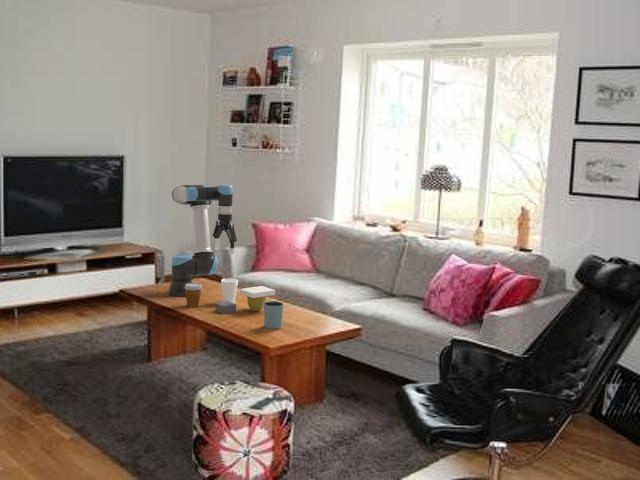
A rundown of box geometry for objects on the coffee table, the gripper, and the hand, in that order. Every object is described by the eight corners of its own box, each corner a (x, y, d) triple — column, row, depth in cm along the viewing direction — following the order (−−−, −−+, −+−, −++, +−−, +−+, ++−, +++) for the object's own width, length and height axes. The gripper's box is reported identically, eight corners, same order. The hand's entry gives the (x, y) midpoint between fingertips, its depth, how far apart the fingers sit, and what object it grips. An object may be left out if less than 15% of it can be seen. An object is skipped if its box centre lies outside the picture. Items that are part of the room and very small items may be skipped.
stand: (215, 310, 393) (215, 303, 392) (227, 308, 398) (227, 301, 397) (223, 313, 387) (223, 306, 386) (235, 311, 392) (236, 304, 392)
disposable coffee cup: (182, 304, 402) (182, 283, 400) (199, 303, 406) (199, 282, 404) (186, 308, 394) (186, 287, 392) (203, 307, 397) (204, 286, 395)
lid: (239, 293, 396) (240, 289, 395) (262, 290, 405) (262, 285, 405) (252, 298, 387) (253, 293, 386) (275, 294, 397) (275, 290, 396)
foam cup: (226, 305, 404) (227, 282, 402) (217, 302, 411) (217, 279, 409) (240, 303, 410) (241, 280, 408) (231, 299, 417) (231, 277, 415)
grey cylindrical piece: (279, 330, 361) (280, 306, 359) (260, 328, 363) (260, 304, 361) (284, 324, 371) (285, 301, 369) (265, 323, 373) (266, 300, 371)
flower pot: (262, 312, 392) (262, 296, 391) (246, 311, 394) (246, 295, 392) (266, 308, 401) (266, 292, 399) (251, 307, 402) (251, 291, 401)
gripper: (206, 211, 399) (206, 249, 403) (232, 216, 381) (231, 256, 384) (218, 210, 404) (217, 247, 408) (244, 215, 386) (242, 255, 389)
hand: (224, 252), depth 396 cm, fingers open, 13 cm apart
